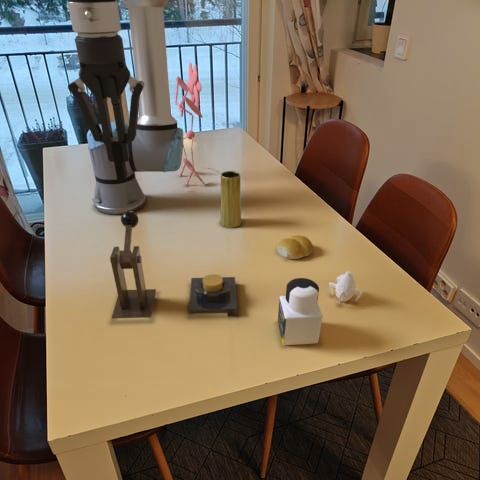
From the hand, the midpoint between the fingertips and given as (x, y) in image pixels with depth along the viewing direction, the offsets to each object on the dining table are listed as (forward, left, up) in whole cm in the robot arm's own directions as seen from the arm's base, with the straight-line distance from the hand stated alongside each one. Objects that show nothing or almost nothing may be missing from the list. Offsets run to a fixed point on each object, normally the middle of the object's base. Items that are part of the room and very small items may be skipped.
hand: (122, 177), depth 85 cm
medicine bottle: (+19, +34, -26) cm, 47 cm away
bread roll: (-13, +38, -26) cm, 48 cm away
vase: (-30, +22, -26) cm, 45 cm away
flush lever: (+3, 0, -13) cm, 13 cm away
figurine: (-64, +13, -26) cm, 70 cm away
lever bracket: (+9, 0, -25) cm, 27 cm away
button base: (+7, +17, -25) cm, 31 cm away
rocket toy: (+8, +46, -26) cm, 53 cm away
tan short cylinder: (+7, +17, -22) cm, 28 cm away
